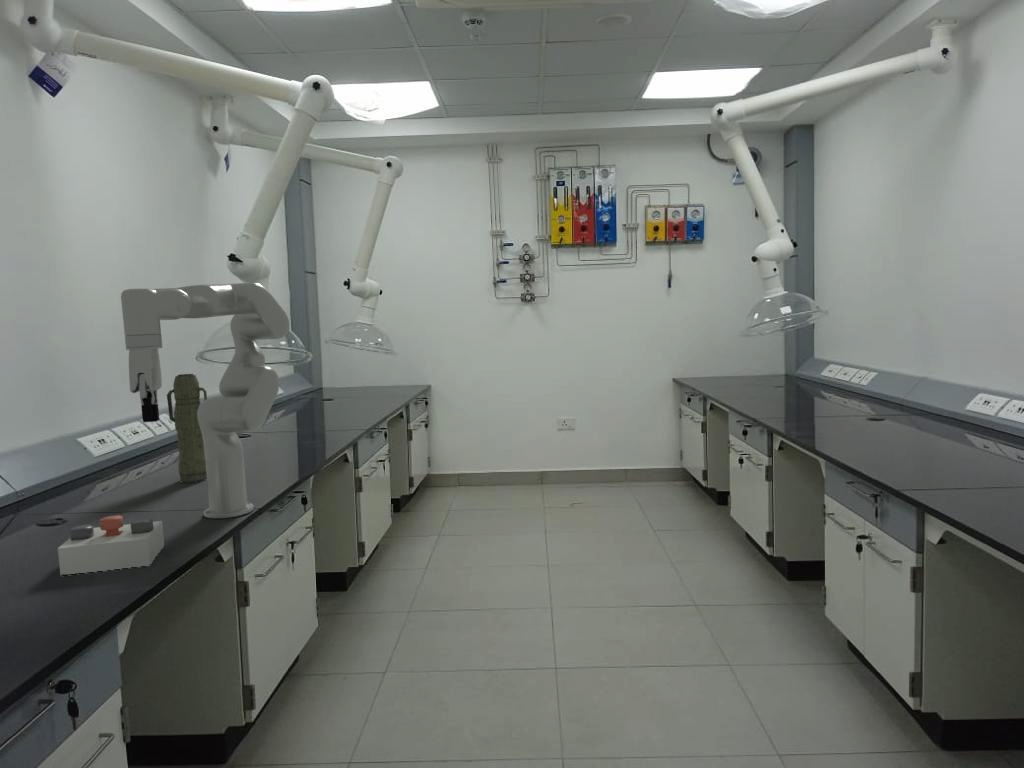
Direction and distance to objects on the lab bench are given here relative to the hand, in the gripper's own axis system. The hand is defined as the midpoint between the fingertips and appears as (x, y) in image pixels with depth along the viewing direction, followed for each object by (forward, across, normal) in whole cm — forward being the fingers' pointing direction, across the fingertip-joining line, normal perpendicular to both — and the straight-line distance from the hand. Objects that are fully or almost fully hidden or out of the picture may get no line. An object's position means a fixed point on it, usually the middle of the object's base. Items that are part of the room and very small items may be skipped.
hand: (151, 421), depth 165 cm
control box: (+29, +10, -8) cm, 32 cm away
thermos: (+29, -70, -5) cm, 76 cm away
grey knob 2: (+27, +10, -1) cm, 28 cm away
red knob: (+25, +10, -8) cm, 28 cm away
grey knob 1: (+27, +10, -14) cm, 31 cm away
